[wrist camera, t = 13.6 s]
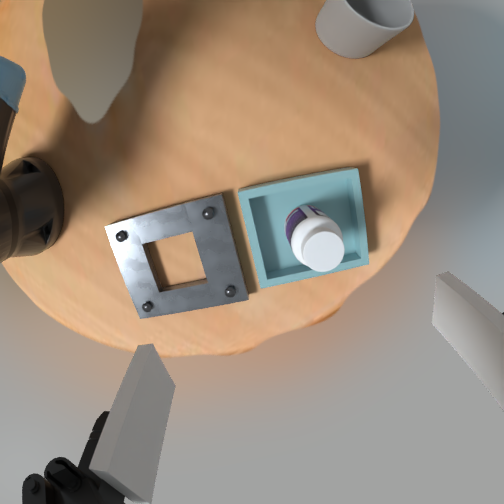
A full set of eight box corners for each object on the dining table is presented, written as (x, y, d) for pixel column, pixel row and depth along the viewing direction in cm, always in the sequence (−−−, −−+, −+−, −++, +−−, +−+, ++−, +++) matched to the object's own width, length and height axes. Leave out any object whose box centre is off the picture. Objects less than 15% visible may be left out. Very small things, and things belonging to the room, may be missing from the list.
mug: (385, 55, 28) (428, 30, 18) (330, 64, 29) (360, 34, 19) (349, -14, 24) (376, -53, 14) (293, -8, 25) (307, -53, 15)
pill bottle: (289, 251, 36) (301, 285, 27) (278, 210, 34) (289, 232, 25) (330, 240, 36) (355, 270, 27) (321, 199, 34) (347, 217, 25)
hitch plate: (143, 313, 40) (139, 320, 38) (109, 223, 36) (103, 227, 34) (248, 294, 39) (248, 301, 37) (222, 192, 34) (220, 195, 33)
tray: (260, 278, 38) (260, 288, 35) (238, 188, 34) (237, 192, 32) (361, 255, 37) (369, 264, 34) (349, 166, 33) (357, 168, 31)
